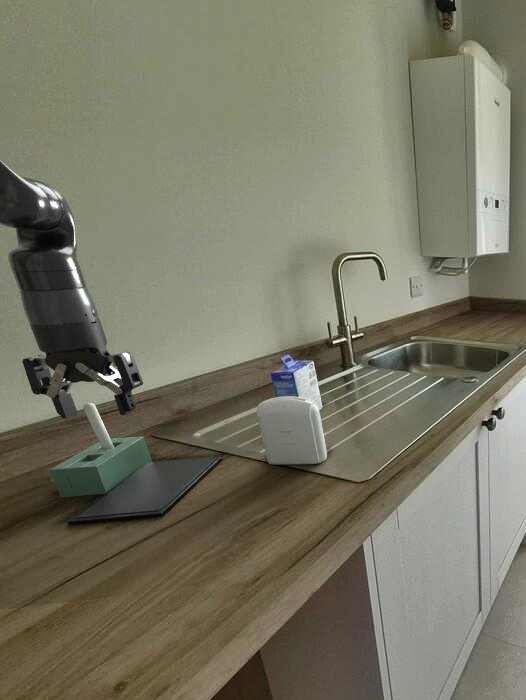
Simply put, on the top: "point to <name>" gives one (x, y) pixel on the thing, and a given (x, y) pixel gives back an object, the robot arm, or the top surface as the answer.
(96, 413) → the stylus
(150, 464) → the tablet
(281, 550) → the top surface
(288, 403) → the photo printer
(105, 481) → the pen stand
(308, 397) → the ink cartridge box
